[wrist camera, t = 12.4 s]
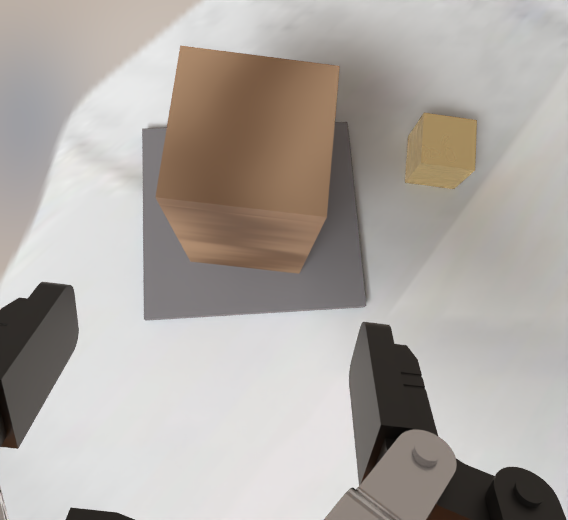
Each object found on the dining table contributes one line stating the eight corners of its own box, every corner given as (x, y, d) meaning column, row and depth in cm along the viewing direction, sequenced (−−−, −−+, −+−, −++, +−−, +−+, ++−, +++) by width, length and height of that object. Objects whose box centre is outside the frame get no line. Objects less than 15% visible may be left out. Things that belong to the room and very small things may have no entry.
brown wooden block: (308, 172, 29) (339, 66, 19) (299, 273, 28) (326, 217, 18) (205, 160, 29) (180, 45, 19) (190, 261, 28) (155, 197, 17)
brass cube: (455, 143, 31) (476, 120, 28) (453, 189, 30) (475, 170, 27) (407, 137, 31) (423, 112, 28) (404, 182, 30) (420, 162, 27)
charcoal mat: (345, 126, 31) (347, 122, 30) (363, 307, 28) (366, 305, 28) (144, 133, 30) (142, 128, 29) (146, 320, 27) (144, 319, 27)
